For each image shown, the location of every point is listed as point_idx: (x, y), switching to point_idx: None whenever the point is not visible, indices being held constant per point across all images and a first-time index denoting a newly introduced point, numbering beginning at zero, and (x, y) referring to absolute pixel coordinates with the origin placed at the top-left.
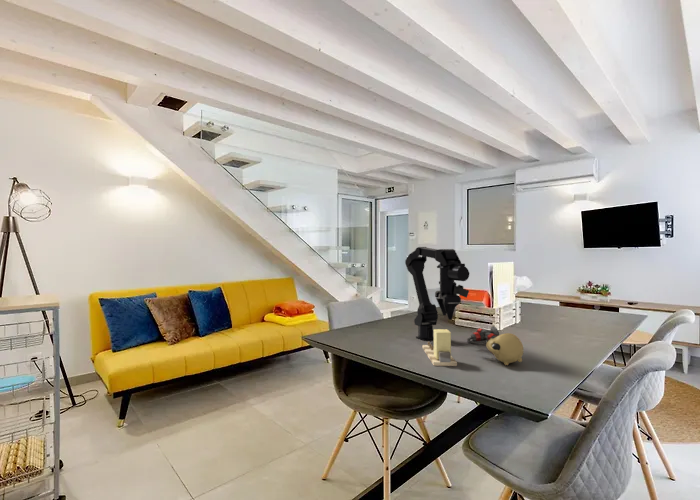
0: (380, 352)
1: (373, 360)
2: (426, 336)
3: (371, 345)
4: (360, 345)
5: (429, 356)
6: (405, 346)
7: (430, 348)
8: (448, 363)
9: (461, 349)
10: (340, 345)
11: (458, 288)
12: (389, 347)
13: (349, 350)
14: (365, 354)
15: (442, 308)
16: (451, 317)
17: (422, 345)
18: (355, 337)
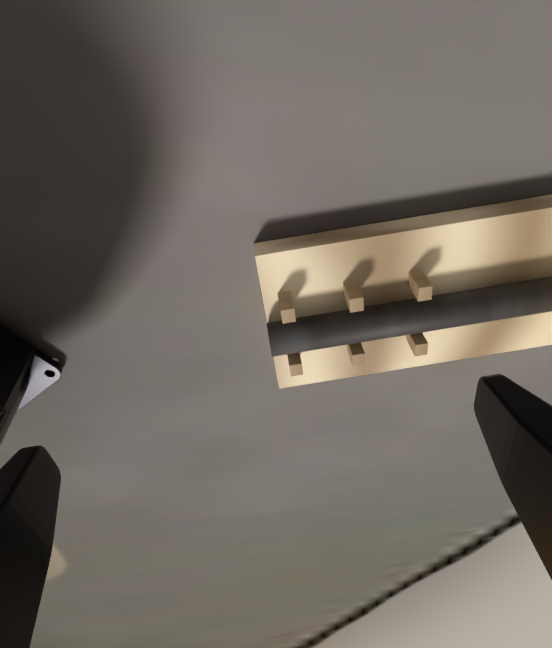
0: (393, 524)
1: (513, 525)
2: (23, 378)
3: (272, 565)
4: (280, 590)
5: (548, 340)
6: (260, 454)
7: (375, 340)
8: None
9: (274, 48)
10: (293, 629)
11: None
12: (297, 509)
13: (365, 599)
14: (424, 556)
15: (13, 632)
16: (533, 405)
17: (279, 385)
18: (138, 625)
